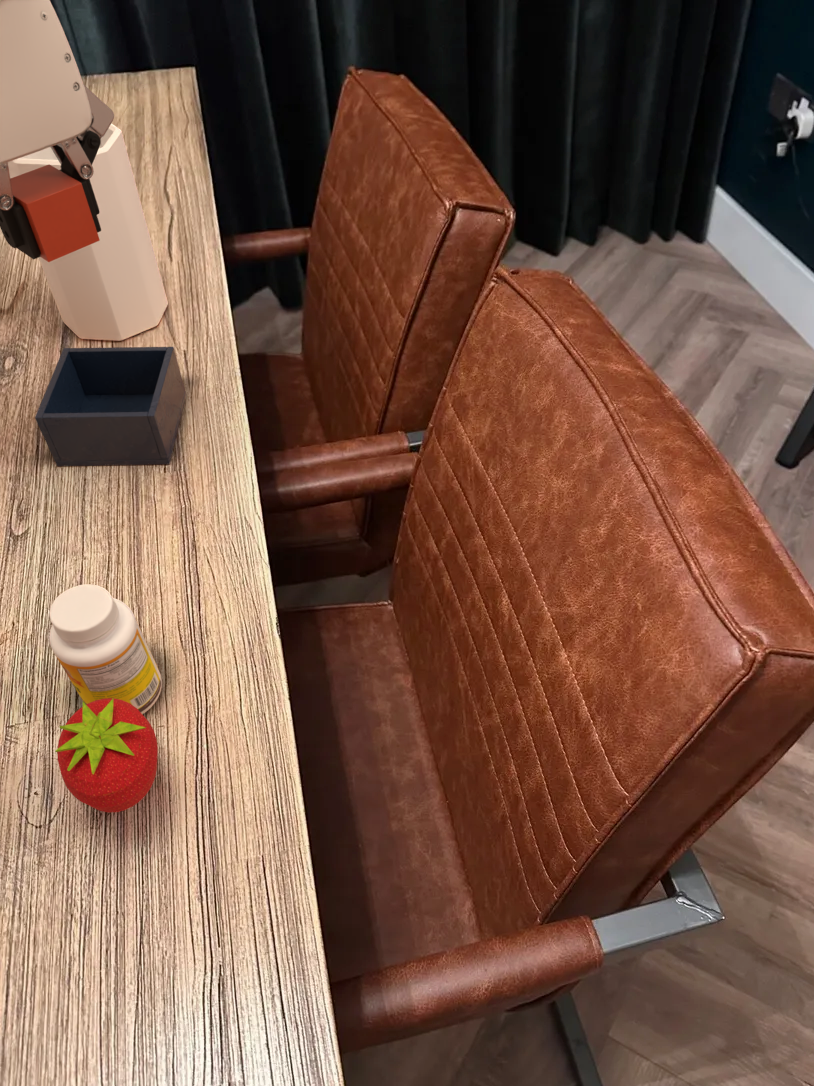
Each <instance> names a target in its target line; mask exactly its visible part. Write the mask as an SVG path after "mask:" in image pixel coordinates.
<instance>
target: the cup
mask: <svg viewBox="0 0 814 1086" xmlns="http://www.w3.org/2000/svg"><path fill="white" fill-rule="evenodd" d="M100 140H101V144H100V147H99V149H98V152H97V154H96V157H95V159H94V161H93V164H92V167H93V170H94V172H93V175H92V177H91V178H89V179H90V182H91V185H92V189H93V192H94V195H95V198H96V201H97V204H98V208H99V214H98V215H97V218H98V221H99V224H100V227H101V231H100V232H98V236H99V239H100V241H97V242H95V243H93V244H90V245H88V246H86V247H83V248H81V249H79V250H76V251H74V252H72V253H69V254H67V255H65V256H62V257H60V258H58V259H55V260H53V261H51V262H47V261H46V260H44V259H43V258H42V257H39V258H38V260H39V264H40V266H41V268H42V272H43V274H44V277H45V278H46V281H47V283H48V287H49V290H50V293H51V295H52V297H53V300H54V302H55V306H56V307H57V310H58V313H59V316H60V319H61V321H62V323H63V324H64V325H65V326H66V327H68V329H69V330H71V331H72V332H73V334H74V335H76V336H77V337H78V338H79V339H82V340H96V341H98V340H100V341H117V342H118V341H119V342H122V341H124V340H127V339H129V338H132V337H133V336H136V335H138V334H141V333H144V332H146V331H148V330H150V329H153V328H155V327H157V326H158V325H159V323H160V322H161V320H162V318H163V316H164V314H165V312H166V310H167V308H168V305H169V302H168V298H167V294H166V291H165V290H166V289H165V286H164V283H163V279H162V275H161V271H160V268H159V264H158V261H157V257H156V253H155V250H154V246H153V241H152V239H151V233H150V231H149V227H148V224H147V220H146V216H145V214H144V209H143V205H142V201H141V197H140V194H139V190H138V187H137V183H136V179H135V176H134V172H133V168H132V165H131V160H130V157H129V154H128V149H127V146H126V142H125V139H124V135H123V132H122V130H121V129H120V128H119V127H118V126H116V124H113V122H112V123H111V125H110V126H109V128H108V130H107V131H106V133H105V135H104V136H103V137H101V139H100ZM49 164H50V165H51V166H53V167H55V168H56V169H58V170H60V169H61V167H60V166H61V164H60V162H59V161H58V159H57V157H56V156H55V154H54V152H53V151H52V149H51V147H49V148H46V149H44V150H41V151H38V152H35V153H32V154H30V155H27V156H24V157H21V158H18V159H15V160H13V161H10V162H8V167H9V174H10V179H11V178H13V177H16V176H19V175H21V174H24V173H27V172H30V171H32V170H35V169H38V168H40V167H43V166H46V165H49Z"/></svg>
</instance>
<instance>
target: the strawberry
mask: <svg viewBox="0 0 814 1086" xmlns="http://www.w3.org/2000/svg"><path fill="white" fill-rule="evenodd" d="M58 728H59V729H62V730H61V733H60V736H59V738H58V741H57V742H58V743H57V748H56V749H55V750H54V752H55V753H57V754H56V755H57V763H58V768H59V771H60V775H61V778H62V781H63V783H64V785H65V787H66V789H67V790H68V791H69V793H71V795H72V796H73V797H74V798H75V799H76V800H78V801H79V802H80V803H83V804H85V805H87V806H89V807H91V808H93V809H95V810H97V811H99V812H103V813H119V812H123V811H127V810H129V809H131V808H133V807H134V806H136V805H138V804H139V803H140V802H141V801H142V800H143V799H144V798H145V797H146V796H147V794H148V793H149V791H150V790H151V788H152V787H153V785H154V782H155V779H156V775H157V771H158V752H159V751H158V750H159V747H158V741H157V736H156V732H155V730H154V728H153V726H152V724H151V723H150V721H149V719H147V718H146V716H145V715H144V713H143V714H142V713H141V712H140V711H139V710H138V709H137V708H136V707H134V706H133V705H131V704H130V703H128V702H126V701H123V700H120V699H115V698H104V699H99V700H95V701H93V702H90V703H88V704H85V703H84V702H83V701H82V706H81V707H80V708H79V709H78V710H76V711H75V712H74V713H73V714H72V715H71V716H70V718H69V719H68V720H67V721H66V723H65V725H64V724H63V725H59V727H58Z"/></svg>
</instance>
